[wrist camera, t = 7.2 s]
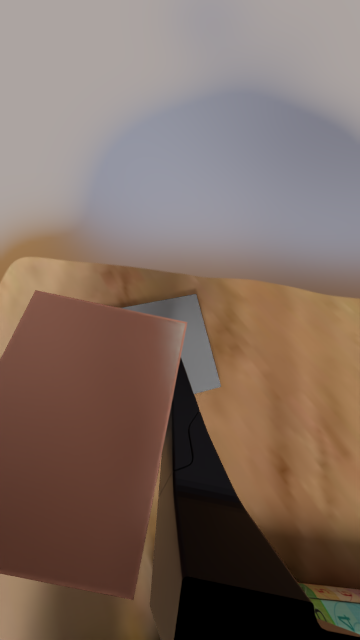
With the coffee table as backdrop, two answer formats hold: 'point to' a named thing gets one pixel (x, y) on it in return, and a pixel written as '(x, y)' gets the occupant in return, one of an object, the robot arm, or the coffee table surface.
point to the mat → (188, 339)
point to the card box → (82, 440)
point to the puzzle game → (335, 605)
